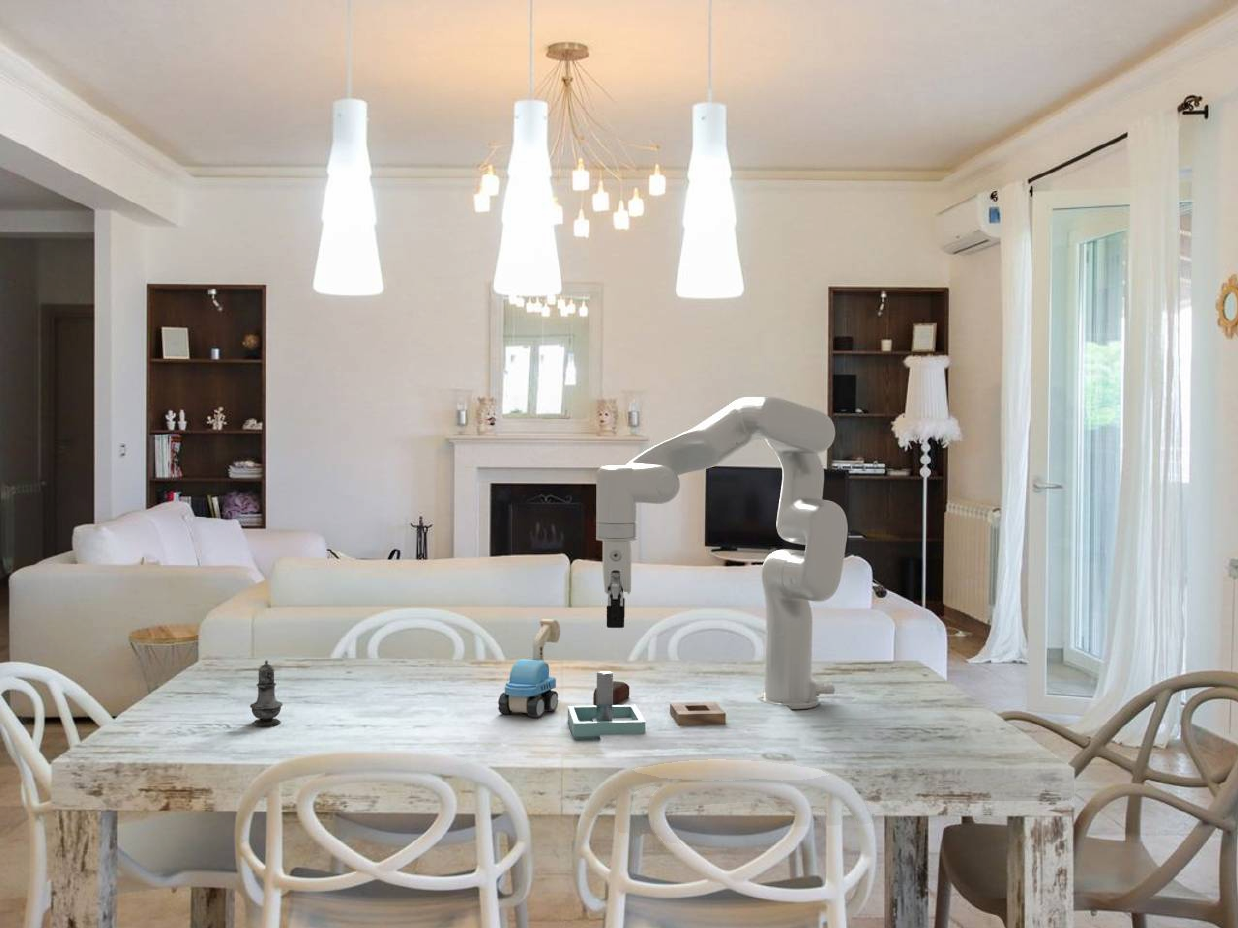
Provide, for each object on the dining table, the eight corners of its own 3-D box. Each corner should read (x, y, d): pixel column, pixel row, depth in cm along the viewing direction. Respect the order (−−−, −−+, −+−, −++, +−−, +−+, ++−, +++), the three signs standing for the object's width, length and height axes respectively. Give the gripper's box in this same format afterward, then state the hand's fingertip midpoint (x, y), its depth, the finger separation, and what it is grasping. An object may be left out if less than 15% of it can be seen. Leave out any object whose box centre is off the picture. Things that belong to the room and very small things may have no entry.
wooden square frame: (715, 717, 226) (715, 701, 226) (725, 729, 217) (725, 713, 217) (669, 718, 225) (670, 702, 225) (678, 730, 216) (678, 714, 216)
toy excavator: (573, 702, 237) (574, 619, 236) (534, 721, 222) (535, 632, 221) (537, 698, 240) (538, 616, 240) (495, 716, 225) (496, 628, 225)
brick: (611, 714, 228) (611, 690, 228) (592, 712, 229) (592, 688, 229) (629, 703, 238) (630, 680, 238) (611, 701, 239) (612, 678, 239)
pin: (611, 724, 218) (611, 671, 217) (613, 728, 215) (613, 674, 214) (595, 724, 217) (595, 671, 217) (597, 728, 214) (597, 674, 214)
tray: (634, 720, 223) (635, 704, 223) (645, 738, 210) (645, 721, 210) (567, 721, 221) (567, 706, 221) (573, 739, 208) (574, 723, 208)
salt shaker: (252, 728, 214) (253, 664, 213) (247, 721, 219) (247, 658, 218) (285, 725, 216) (285, 661, 216) (279, 718, 221) (279, 655, 221)
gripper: (636, 536, 208) (635, 631, 208) (636, 527, 225) (635, 615, 225) (594, 536, 208) (594, 631, 208) (597, 527, 225) (597, 615, 226)
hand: (615, 622), depth 217 cm, fingers open, 9 cm apart
